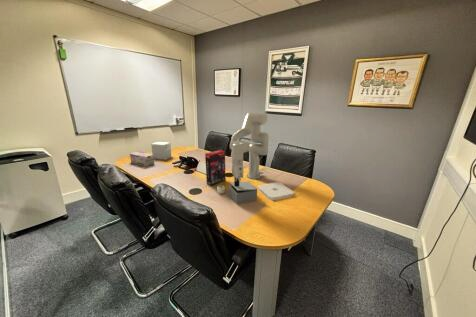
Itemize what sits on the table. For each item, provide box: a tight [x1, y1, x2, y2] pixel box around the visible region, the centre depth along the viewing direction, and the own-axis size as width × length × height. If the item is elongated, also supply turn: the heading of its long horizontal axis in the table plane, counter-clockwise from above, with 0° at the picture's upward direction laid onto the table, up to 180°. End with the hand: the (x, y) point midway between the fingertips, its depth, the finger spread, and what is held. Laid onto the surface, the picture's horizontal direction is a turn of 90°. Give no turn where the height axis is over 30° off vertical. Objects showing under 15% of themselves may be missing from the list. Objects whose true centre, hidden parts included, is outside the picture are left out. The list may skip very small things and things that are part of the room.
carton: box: [228, 184, 258, 205], centre depth 142 cm, size 16×14×8 cm
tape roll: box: [216, 184, 226, 195], centre depth 150 cm, size 6×6×5 cm
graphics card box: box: [204, 149, 226, 187], centre depth 164 cm, size 17×7×27 cm, turn 138°
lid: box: [230, 180, 258, 191], centre depth 141 cm, size 16×14×1 cm
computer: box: [257, 181, 295, 201], centre depth 153 cm, size 22×22×3 cm
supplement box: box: [150, 141, 172, 161], centre depth 230 cm, size 17×13×18 cm
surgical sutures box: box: [129, 151, 155, 168], centre depth 210 cm, size 25×11×11 cm, turn 59°
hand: (236, 185), depth 138 cm, fingers closed
